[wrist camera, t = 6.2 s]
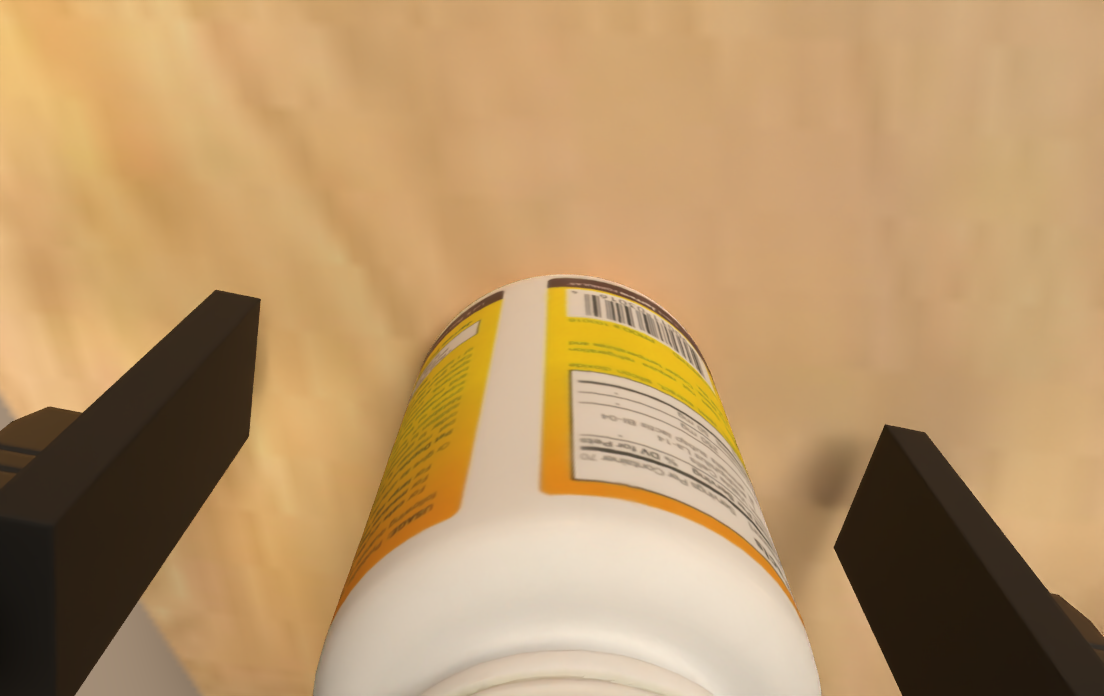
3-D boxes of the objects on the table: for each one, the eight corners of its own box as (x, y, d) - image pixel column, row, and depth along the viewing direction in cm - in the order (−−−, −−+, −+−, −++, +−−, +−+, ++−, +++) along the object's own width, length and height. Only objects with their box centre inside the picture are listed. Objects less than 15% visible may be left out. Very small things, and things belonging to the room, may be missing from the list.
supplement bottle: (449, 538, 18) (320, 1166, 9) (390, 285, 16) (129, 752, 6) (723, 508, 18) (902, 1131, 8) (701, 242, 15) (913, 677, 6)
